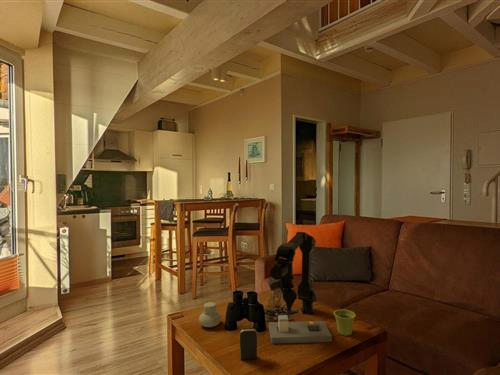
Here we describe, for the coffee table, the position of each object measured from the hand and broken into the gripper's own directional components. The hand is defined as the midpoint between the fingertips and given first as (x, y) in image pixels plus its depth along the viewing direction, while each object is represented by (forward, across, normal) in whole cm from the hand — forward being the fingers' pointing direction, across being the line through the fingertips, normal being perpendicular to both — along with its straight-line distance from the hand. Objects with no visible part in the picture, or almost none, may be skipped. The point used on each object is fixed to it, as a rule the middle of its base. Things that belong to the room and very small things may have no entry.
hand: (287, 306), depth 140 cm
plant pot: (+12, +3, +26) cm, 28 cm away
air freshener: (+11, -8, -36) cm, 39 cm away
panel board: (+11, +4, +4) cm, 13 cm away
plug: (+11, +4, -2) cm, 12 cm away
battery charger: (+11, +20, -18) cm, 29 cm away
